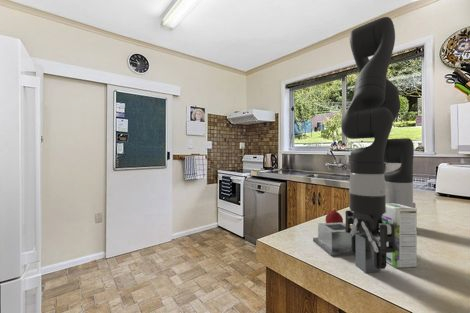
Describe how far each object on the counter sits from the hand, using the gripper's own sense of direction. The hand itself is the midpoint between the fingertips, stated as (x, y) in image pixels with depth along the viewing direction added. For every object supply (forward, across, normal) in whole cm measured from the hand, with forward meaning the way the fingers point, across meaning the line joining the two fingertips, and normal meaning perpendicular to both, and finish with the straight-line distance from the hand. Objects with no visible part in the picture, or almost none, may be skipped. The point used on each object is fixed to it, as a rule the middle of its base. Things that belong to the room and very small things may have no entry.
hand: (367, 259), depth 54 cm
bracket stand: (+2, +13, -5) cm, 14 cm away
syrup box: (+2, +2, -10) cm, 10 cm away
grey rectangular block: (+2, 0, 0) cm, 2 cm away
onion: (+2, +27, -7) cm, 28 cm away
